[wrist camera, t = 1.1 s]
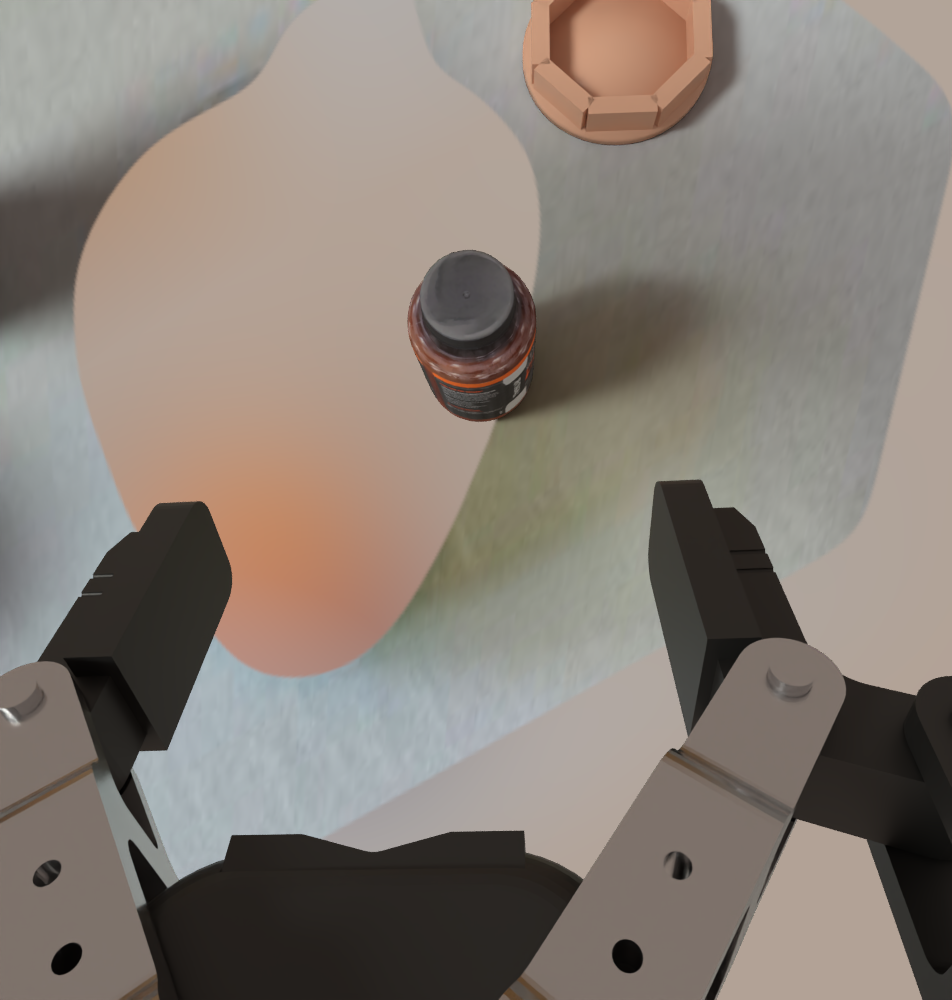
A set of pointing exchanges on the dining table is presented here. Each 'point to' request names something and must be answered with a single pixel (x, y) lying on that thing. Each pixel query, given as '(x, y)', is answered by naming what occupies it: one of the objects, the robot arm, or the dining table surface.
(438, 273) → the supplement bottle
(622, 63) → the coaster dish
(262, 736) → the dining table surface
